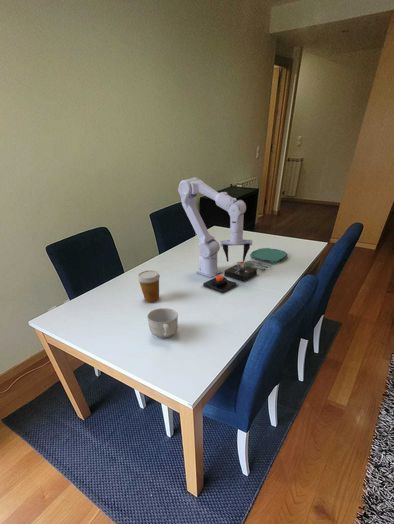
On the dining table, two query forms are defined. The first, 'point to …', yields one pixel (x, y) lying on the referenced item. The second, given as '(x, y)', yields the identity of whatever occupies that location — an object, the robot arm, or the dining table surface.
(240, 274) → the dial panel
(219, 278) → the button
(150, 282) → the disposable coffee cup
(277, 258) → the green plate with cutlery
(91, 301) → the dining table surface
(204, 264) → the robot arm
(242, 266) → the oven dial
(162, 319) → the teacup
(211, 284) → the button housing
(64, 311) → the dining table surface
